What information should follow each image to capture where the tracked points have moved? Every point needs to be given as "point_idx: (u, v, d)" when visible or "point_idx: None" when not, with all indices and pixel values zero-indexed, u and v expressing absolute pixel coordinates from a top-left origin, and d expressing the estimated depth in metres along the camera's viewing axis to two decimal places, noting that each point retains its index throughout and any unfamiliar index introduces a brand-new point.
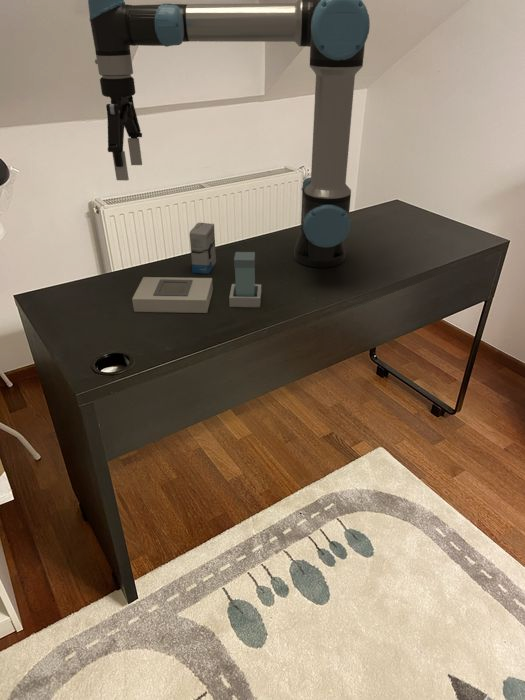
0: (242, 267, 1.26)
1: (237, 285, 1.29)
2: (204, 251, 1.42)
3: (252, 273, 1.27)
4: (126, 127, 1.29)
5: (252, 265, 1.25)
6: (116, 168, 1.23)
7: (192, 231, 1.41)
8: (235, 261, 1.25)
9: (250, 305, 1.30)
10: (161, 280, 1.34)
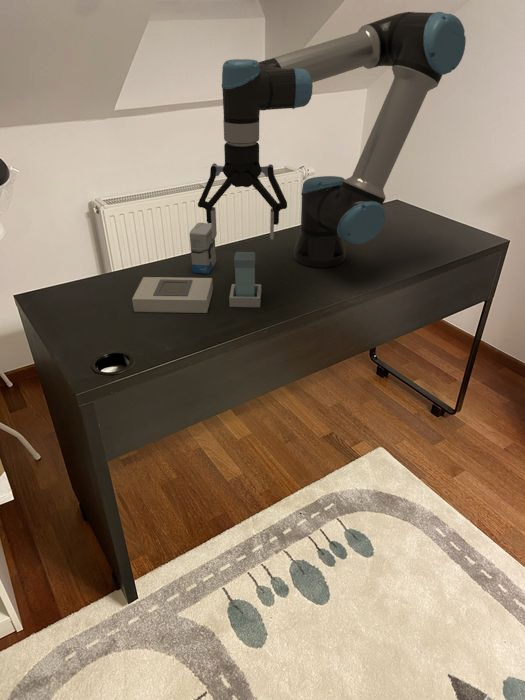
0: (243, 267, 1.26)
1: (237, 285, 1.29)
2: (204, 251, 1.42)
3: (252, 273, 1.27)
4: None
5: (252, 265, 1.25)
6: None
7: (193, 231, 1.41)
8: (235, 261, 1.25)
9: (250, 305, 1.30)
10: (161, 280, 1.34)
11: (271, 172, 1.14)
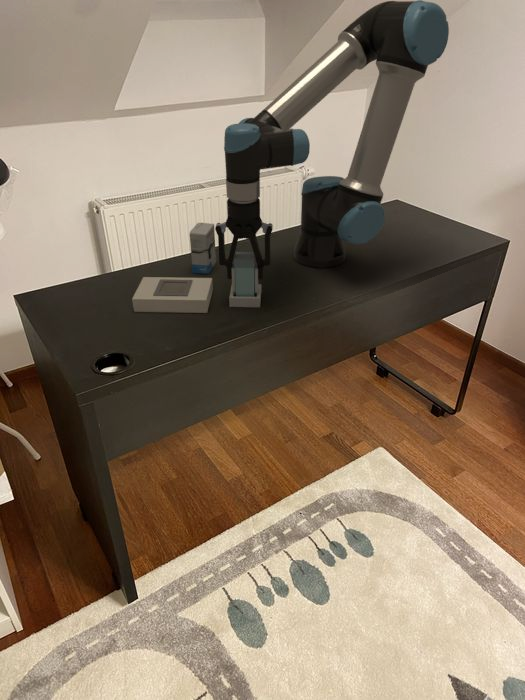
0: (243, 267, 1.26)
1: (237, 285, 1.29)
2: (204, 251, 1.42)
3: (252, 273, 1.27)
4: None
5: (252, 265, 1.25)
6: None
7: (192, 231, 1.41)
8: (235, 261, 1.25)
9: (250, 305, 1.30)
10: (161, 280, 1.34)
11: (269, 231, 1.22)
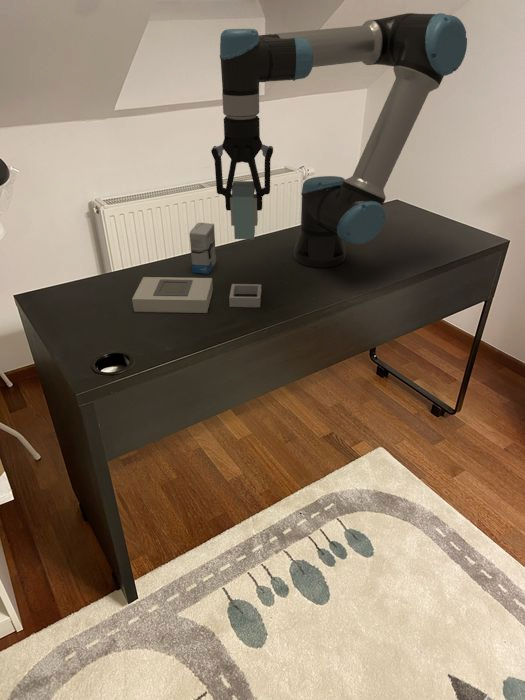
0: (241, 196, 1.16)
1: (235, 217, 1.19)
2: (204, 251, 1.42)
3: (251, 203, 1.17)
4: None
5: (251, 193, 1.16)
6: None
7: (193, 231, 1.41)
8: (233, 189, 1.15)
9: (250, 305, 1.30)
10: (161, 280, 1.34)
11: (270, 154, 1.12)
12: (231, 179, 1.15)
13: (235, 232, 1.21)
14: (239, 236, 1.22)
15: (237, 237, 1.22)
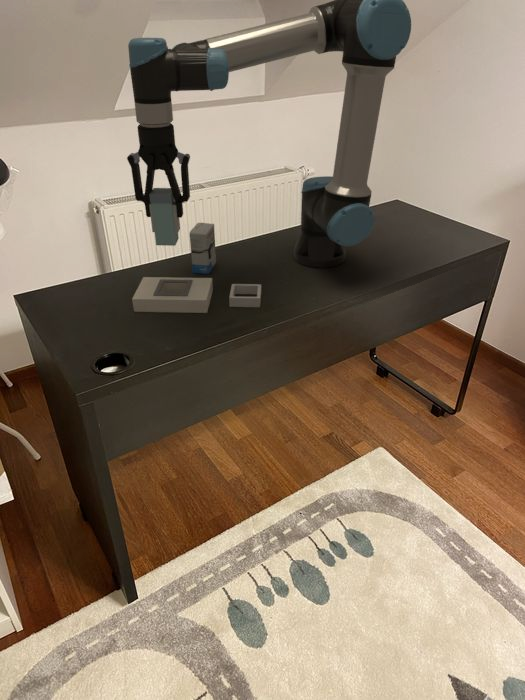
0: (159, 203, 1.17)
1: (155, 223, 1.19)
2: (204, 251, 1.42)
3: (170, 210, 1.18)
4: None
5: (169, 200, 1.16)
6: None
7: (192, 231, 1.41)
8: (151, 196, 1.16)
9: (250, 305, 1.30)
10: (161, 280, 1.34)
11: (185, 162, 1.13)
12: (149, 186, 1.16)
13: (156, 238, 1.21)
14: (160, 242, 1.22)
15: (158, 243, 1.22)
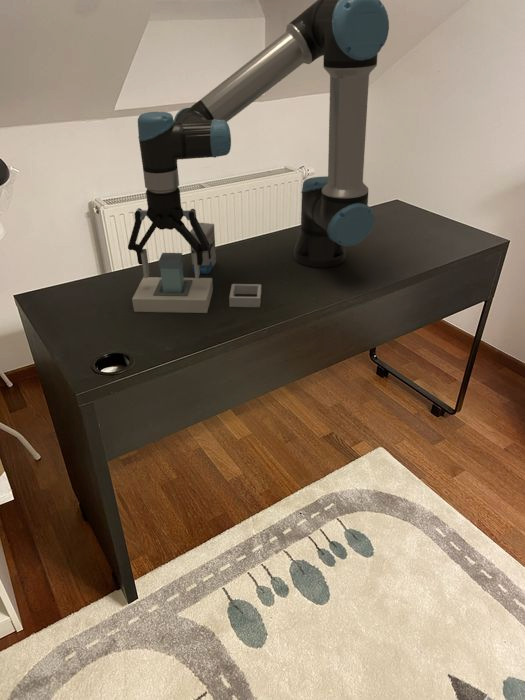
0: (168, 268, 1.26)
1: (164, 286, 1.28)
2: (204, 251, 1.42)
3: (178, 274, 1.26)
4: None
5: (177, 266, 1.25)
6: None
7: (192, 231, 1.41)
8: (160, 262, 1.25)
9: (250, 305, 1.30)
10: (161, 280, 1.34)
11: (192, 217, 1.19)
12: (146, 239, 1.23)
13: None
14: None
15: None
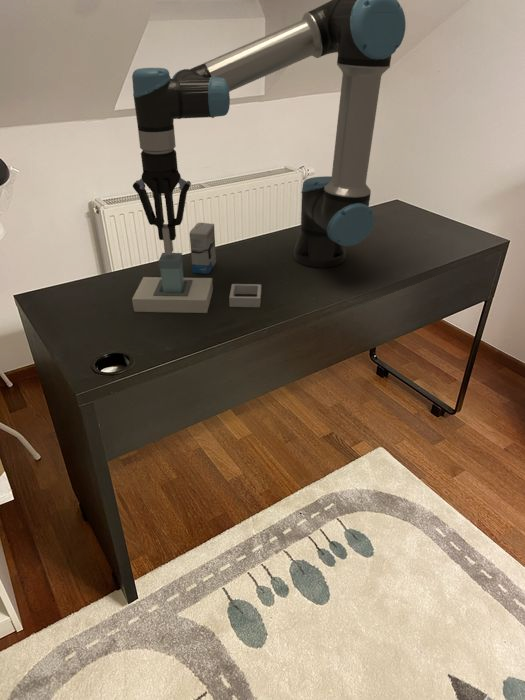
0: (168, 268, 1.26)
1: (164, 286, 1.28)
2: (204, 251, 1.42)
3: (178, 274, 1.26)
4: None
5: (177, 266, 1.25)
6: None
7: (193, 231, 1.41)
8: (160, 262, 1.25)
9: (250, 305, 1.30)
10: (161, 280, 1.34)
11: (186, 189, 1.16)
12: (158, 210, 1.19)
13: None
14: None
15: None
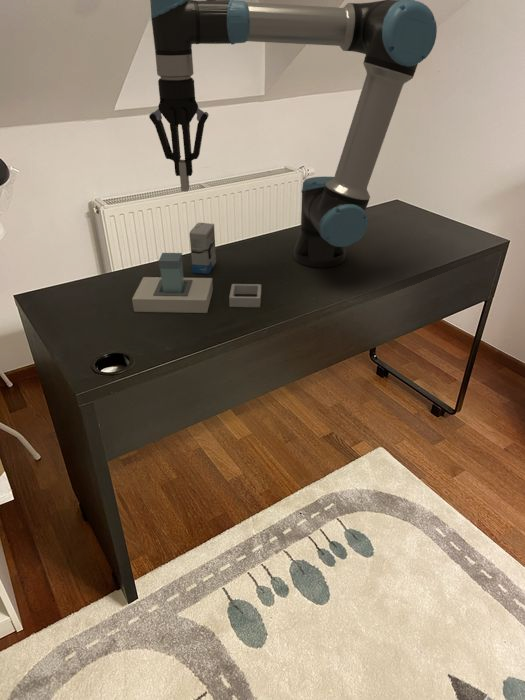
0: (168, 268, 1.26)
1: (164, 286, 1.28)
2: (204, 251, 1.42)
3: (178, 274, 1.26)
4: None
5: (177, 266, 1.25)
6: None
7: (192, 231, 1.41)
8: (160, 262, 1.25)
9: (250, 305, 1.30)
10: (161, 280, 1.34)
11: (204, 119, 1.13)
12: (175, 143, 1.16)
13: None
14: None
15: None
